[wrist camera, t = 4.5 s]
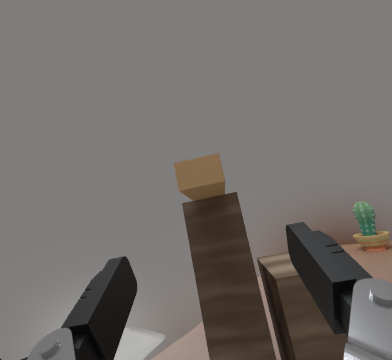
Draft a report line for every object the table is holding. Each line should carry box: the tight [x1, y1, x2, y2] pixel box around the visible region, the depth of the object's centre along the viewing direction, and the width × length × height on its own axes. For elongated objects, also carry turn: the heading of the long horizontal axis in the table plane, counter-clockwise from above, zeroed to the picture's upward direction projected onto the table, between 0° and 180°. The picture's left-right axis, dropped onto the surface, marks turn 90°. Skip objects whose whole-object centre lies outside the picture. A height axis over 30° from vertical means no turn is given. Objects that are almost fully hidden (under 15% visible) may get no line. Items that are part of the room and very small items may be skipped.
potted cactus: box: [353, 201, 389, 251], centre depth 112 cm, size 15×15×25 cm
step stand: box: [182, 192, 348, 360], centre depth 30 cm, size 14×16×32 cm
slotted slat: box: [174, 153, 225, 201], centre depth 30 cm, size 24×4×2 cm, turn 172°
